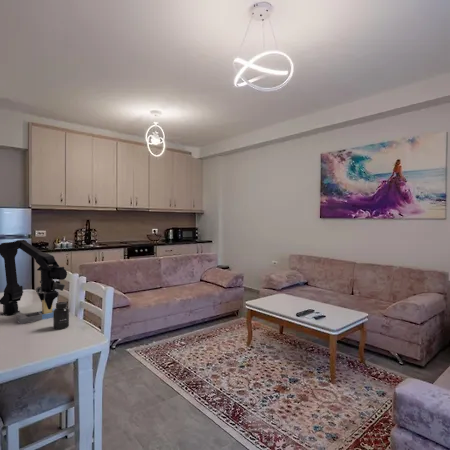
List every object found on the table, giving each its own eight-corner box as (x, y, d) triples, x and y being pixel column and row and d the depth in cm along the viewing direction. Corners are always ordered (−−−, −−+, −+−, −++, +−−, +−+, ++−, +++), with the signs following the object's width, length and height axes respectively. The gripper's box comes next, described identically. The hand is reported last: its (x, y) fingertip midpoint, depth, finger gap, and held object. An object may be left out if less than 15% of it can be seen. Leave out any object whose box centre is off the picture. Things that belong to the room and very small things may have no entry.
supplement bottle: (62, 330, 148) (62, 305, 148) (50, 329, 150) (49, 304, 149) (72, 325, 155) (72, 301, 155) (60, 324, 156) (60, 300, 156)
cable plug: (44, 318, 166) (43, 301, 165) (42, 316, 168) (41, 299, 168) (52, 316, 168) (52, 300, 168) (50, 314, 171) (50, 298, 171)
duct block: (20, 324, 156) (20, 319, 156) (17, 320, 162) (17, 315, 162) (62, 315, 170) (62, 310, 170) (57, 312, 176) (57, 307, 175)
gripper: (68, 279, 167) (68, 308, 167) (57, 274, 180) (57, 301, 181) (45, 282, 159) (45, 312, 159) (35, 277, 172) (35, 305, 173)
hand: (47, 307), depth 168 cm, fingers open, 8 cm apart
